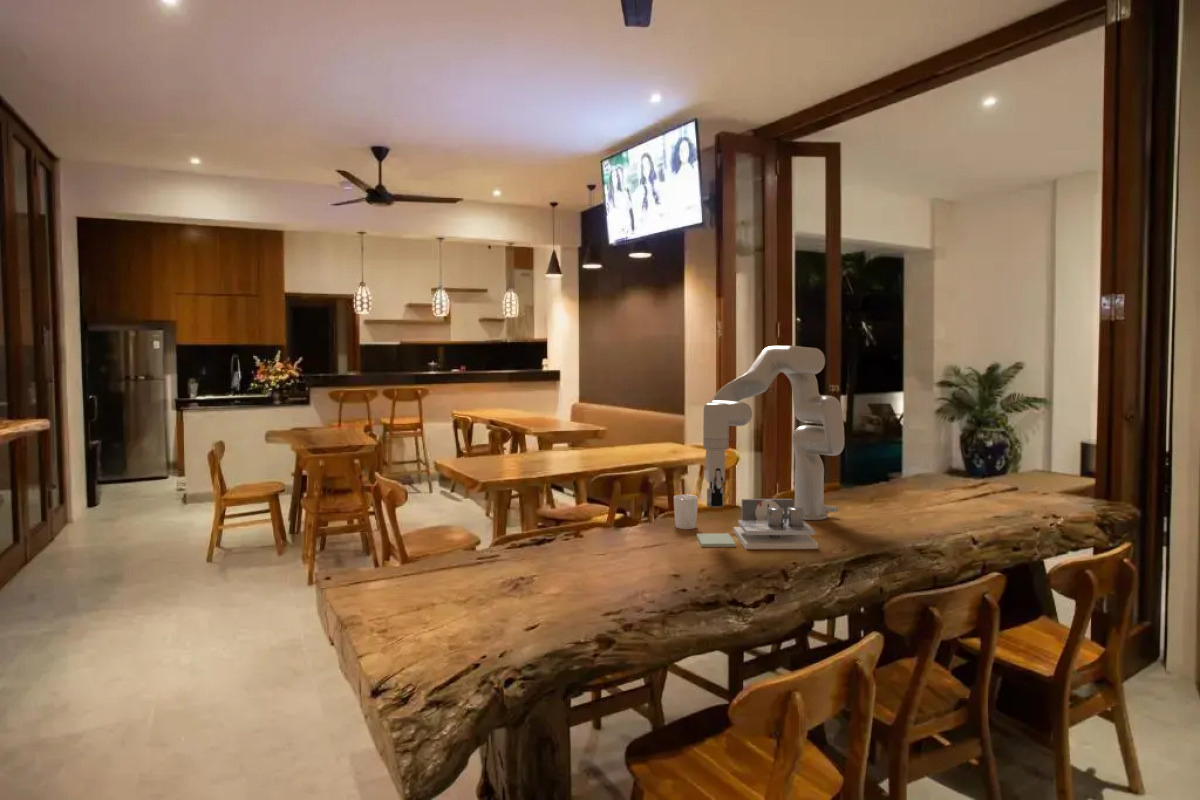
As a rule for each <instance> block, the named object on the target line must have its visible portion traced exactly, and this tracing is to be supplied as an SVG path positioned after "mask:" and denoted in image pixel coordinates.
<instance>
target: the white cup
mask: <svg viewBox="0 0 1200 800" xmlns="http://www.w3.org/2000/svg"><path fill="white" fill-rule="evenodd" d="M698 503H699V497H698V496H697V495H695V494H676V495H674V496H673V509H674V510H673V511H674V513H673V514H674V521H675V522H674V523H675V528H677V529H680V530H692V529H693V530H694V529H696V528H697V518H698V517H697V516H698V508H699V507H698Z"/></svg>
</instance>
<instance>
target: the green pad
mask: <svg viewBox="0 0 1200 800" xmlns="http://www.w3.org/2000/svg"><path fill="white" fill-rule="evenodd" d="M696 538H697V541H698V543H699V544H700V547H701V548H735V547H737V546H736V545H737V544H736V542H735V541H734V539H733V537H732V536H731V534H730V533H727V532H726V533H696Z"/></svg>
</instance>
